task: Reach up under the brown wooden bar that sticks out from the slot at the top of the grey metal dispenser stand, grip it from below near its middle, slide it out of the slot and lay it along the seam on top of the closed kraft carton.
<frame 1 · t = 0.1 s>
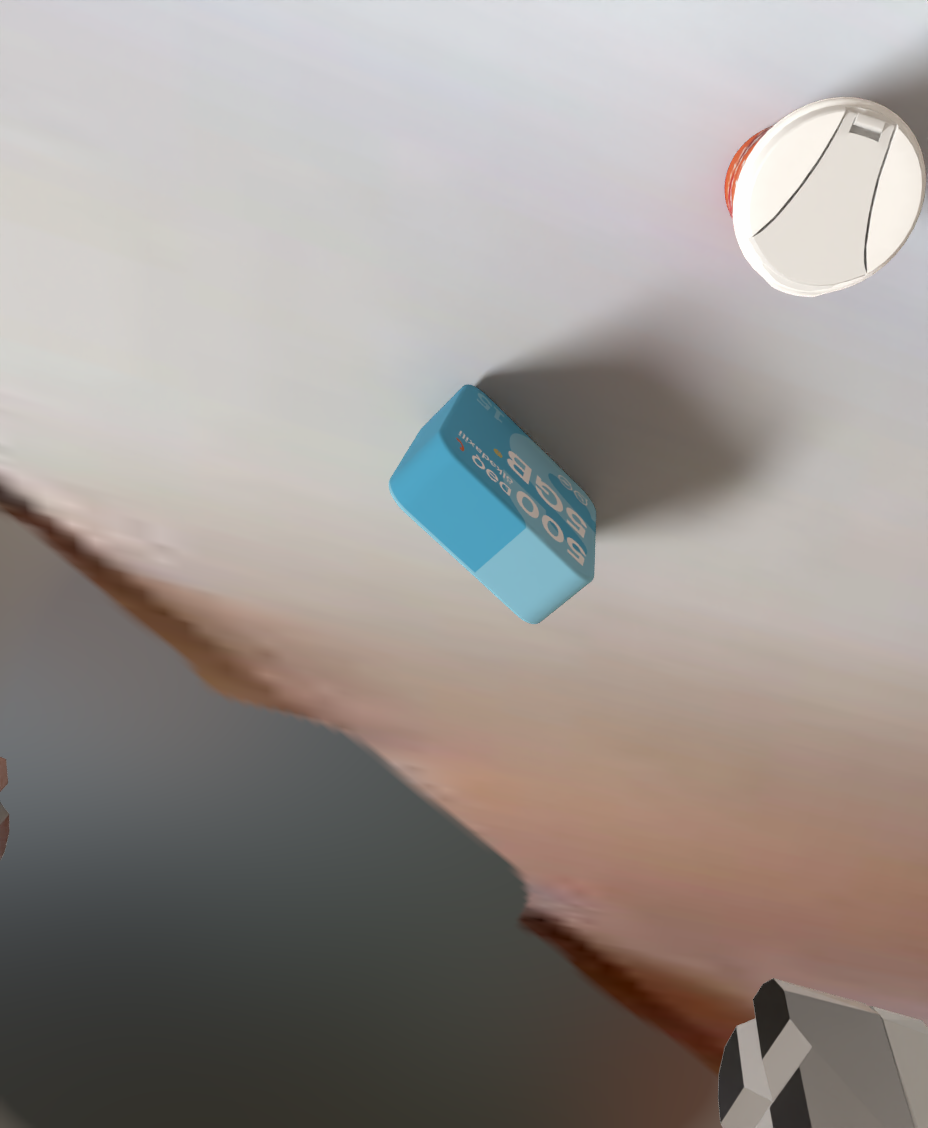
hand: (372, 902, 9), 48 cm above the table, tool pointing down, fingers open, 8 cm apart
paper cup: (775, 183, 48), on the table
data package: (511, 463, 58), on the table
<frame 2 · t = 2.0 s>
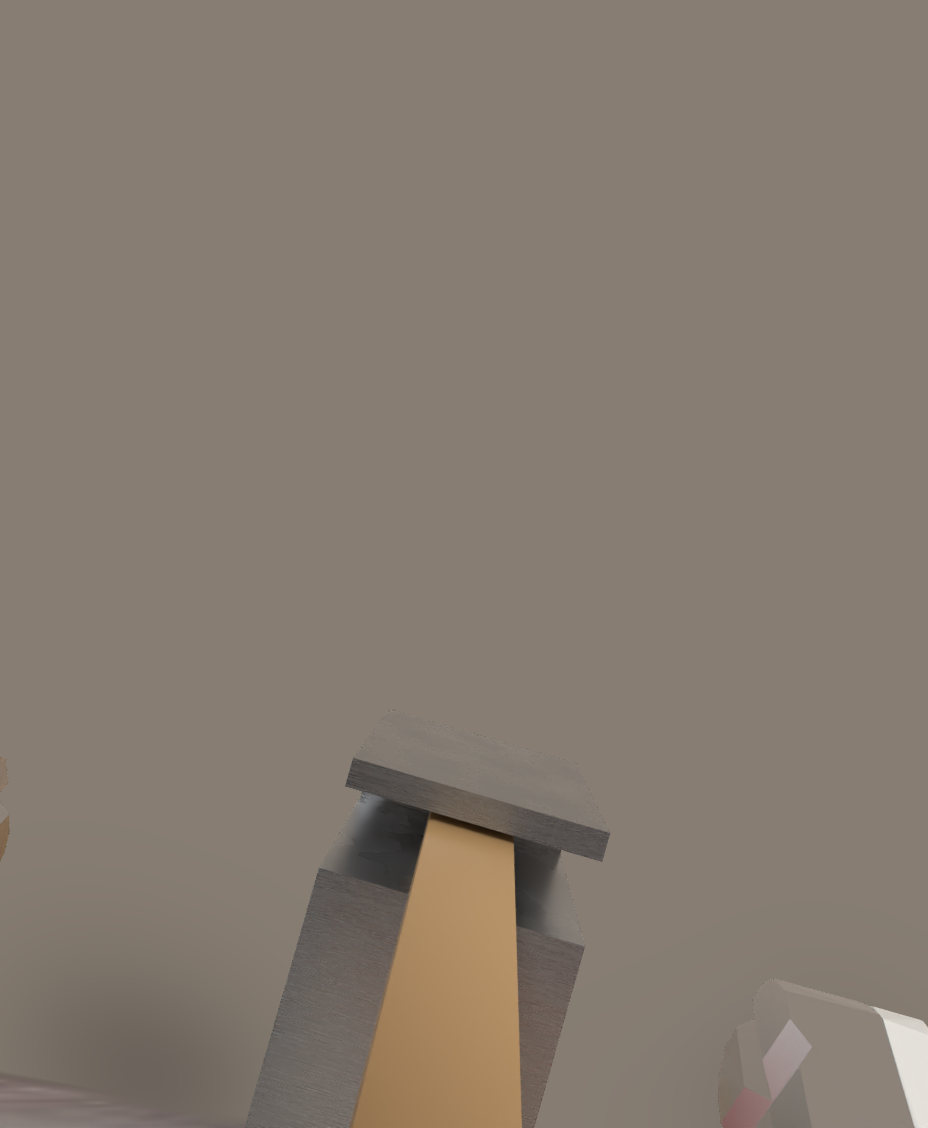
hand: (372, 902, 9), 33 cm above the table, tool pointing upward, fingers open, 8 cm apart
brown wooden bar: (444, 971, 24), point 26 cm above the table, touching dispenser stand
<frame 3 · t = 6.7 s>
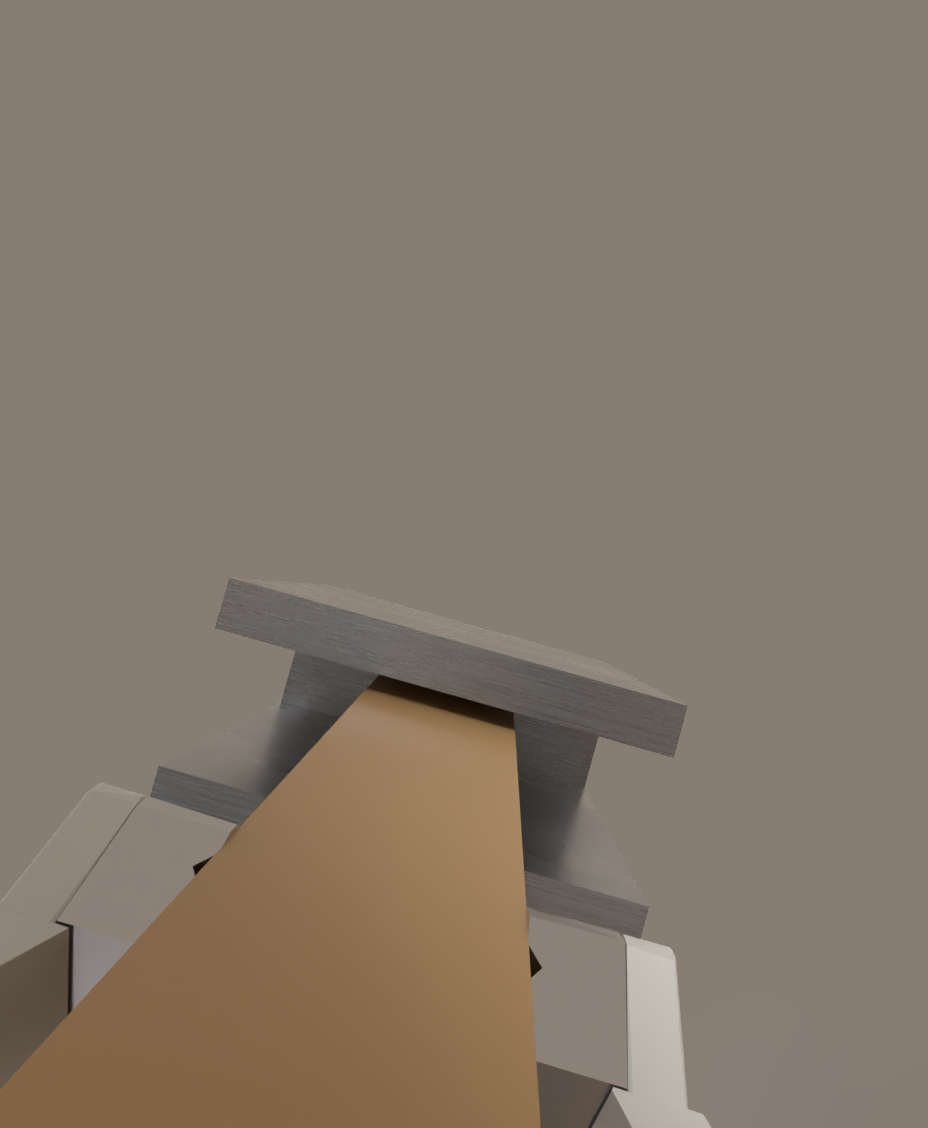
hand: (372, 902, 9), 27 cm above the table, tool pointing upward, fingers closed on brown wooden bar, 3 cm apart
brown wooden bar: (368, 940, 11), point 26 cm above the table, touching dispenser stand, gripper
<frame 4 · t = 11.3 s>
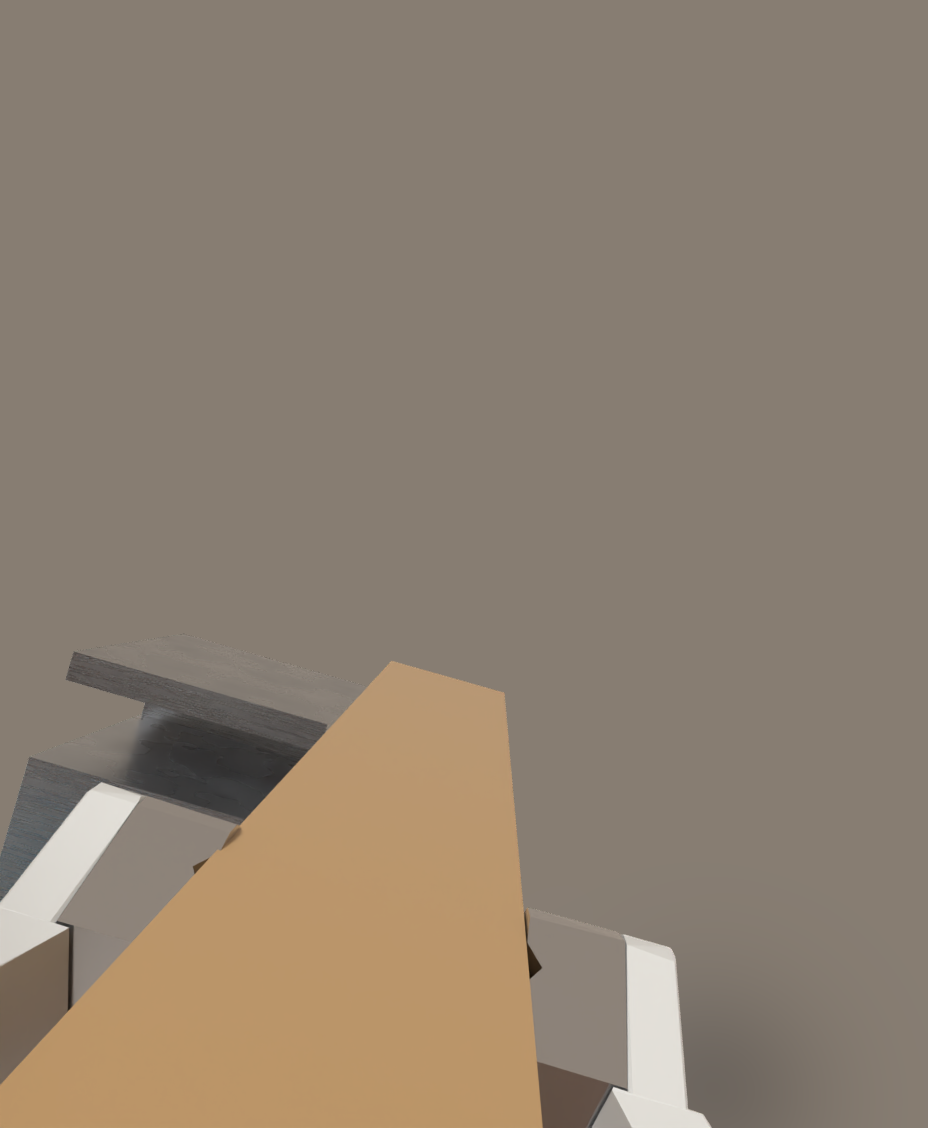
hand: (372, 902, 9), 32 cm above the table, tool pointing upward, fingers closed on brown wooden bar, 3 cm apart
brown wooden bar: (363, 945, 11), point 30 cm above the table, touching gripper
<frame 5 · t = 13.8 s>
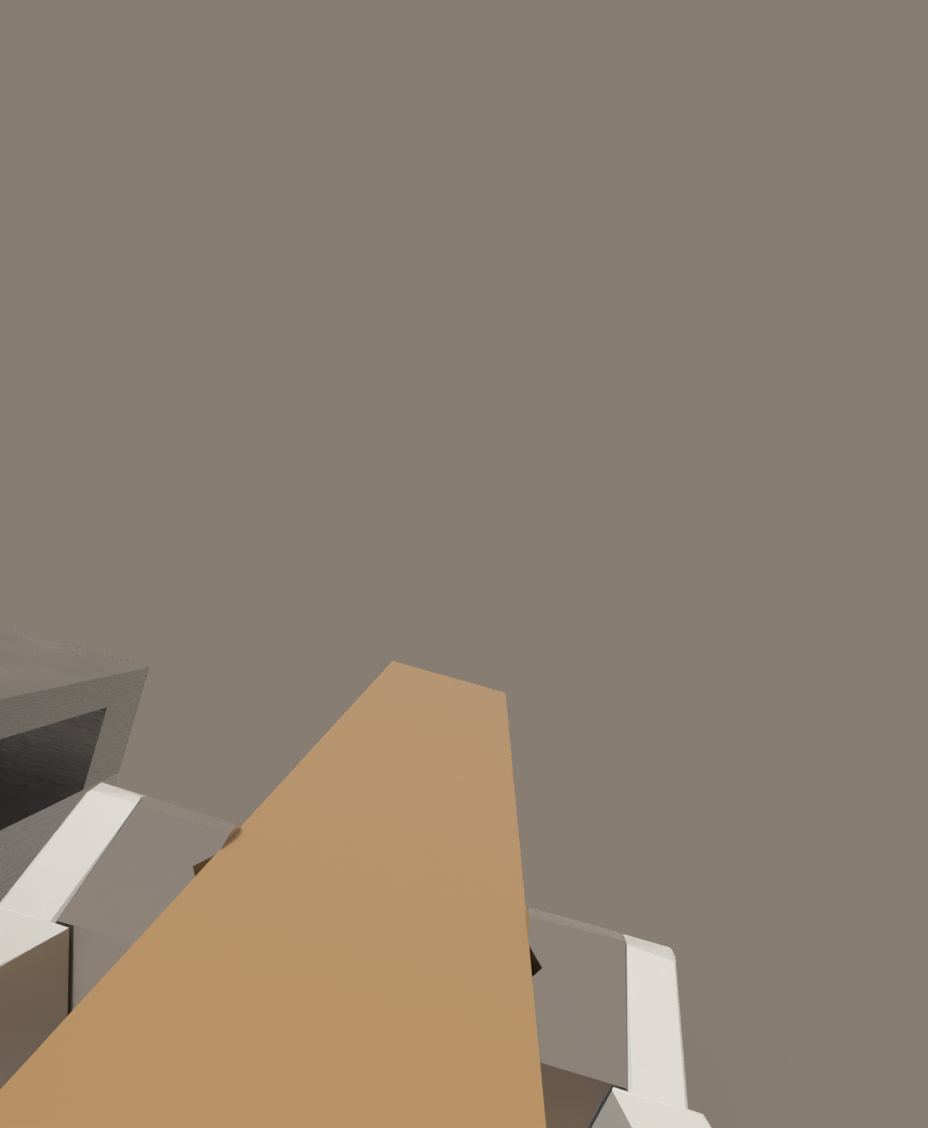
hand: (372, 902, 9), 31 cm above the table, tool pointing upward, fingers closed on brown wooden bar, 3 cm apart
brown wooden bar: (365, 945, 11), point 30 cm above the table, touching gripper
when the fingers open (20 cm above the table, at t = 16.1 s): brown wooden bar drops 2 cm, resting on carton.
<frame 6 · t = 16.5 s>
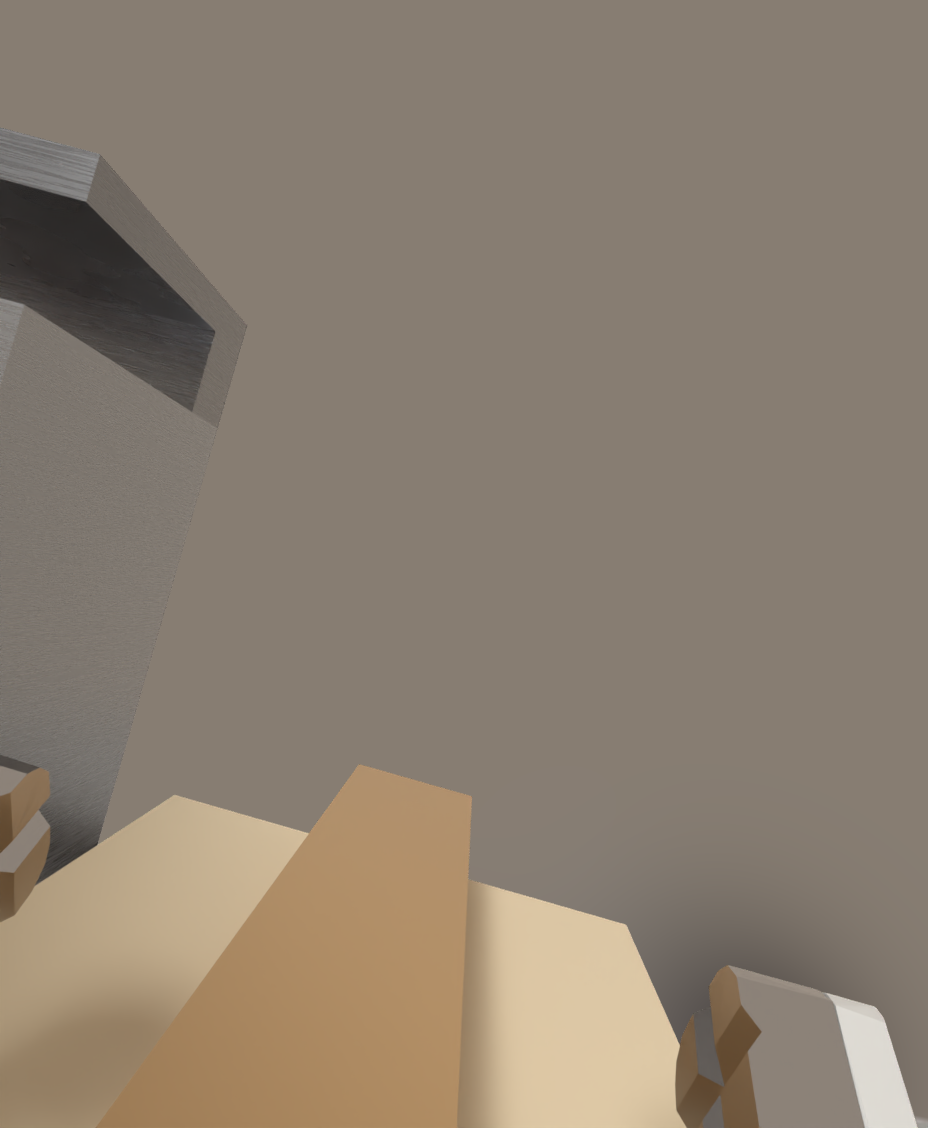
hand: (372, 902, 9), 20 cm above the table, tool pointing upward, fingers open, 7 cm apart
brown wooden bar: (309, 1110, 11), point 16 cm above the table, touching carton
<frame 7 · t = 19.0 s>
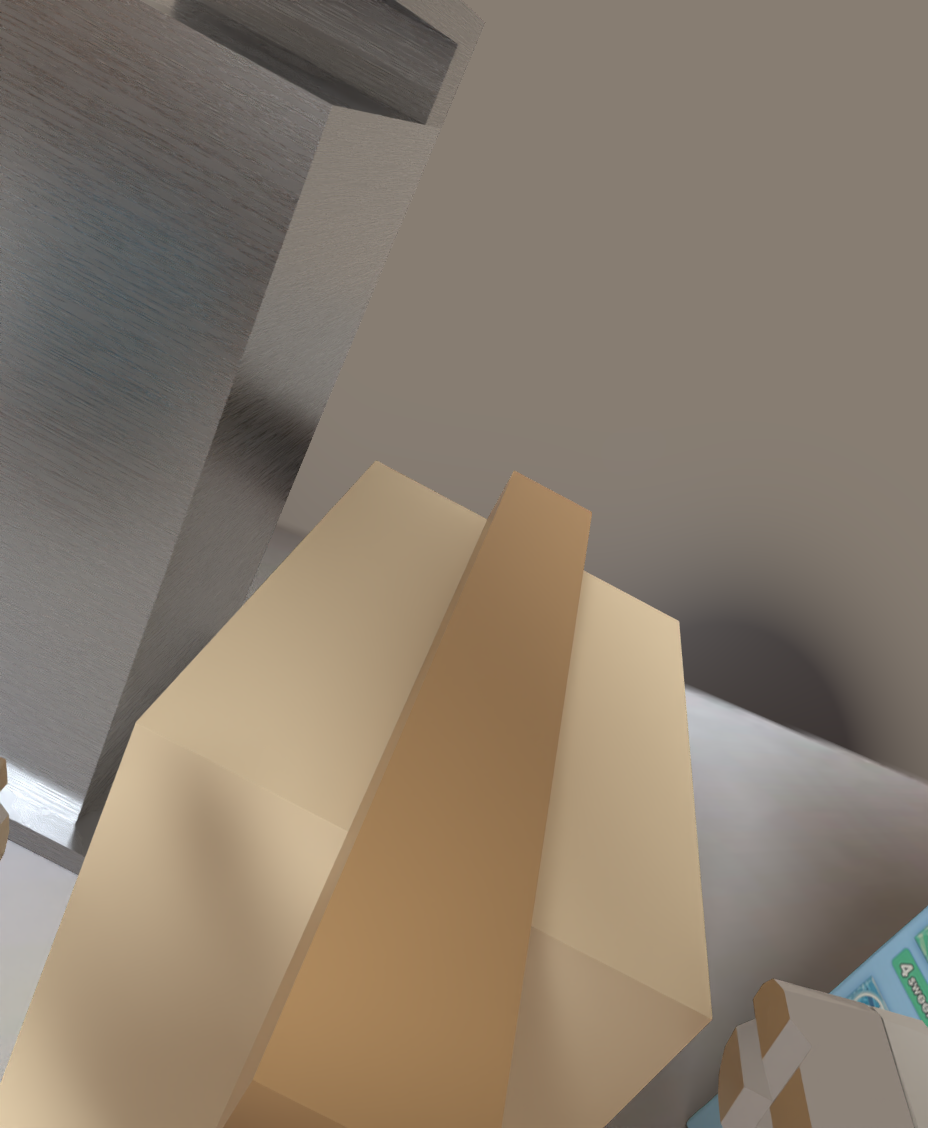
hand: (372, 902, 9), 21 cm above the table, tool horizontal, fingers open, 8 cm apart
carton: (288, 995, 30), on the table
dispenser stand: (57, 694, 37), on the table
brown wooden bar: (469, 715, 20), point 16 cm above the table, touching carton
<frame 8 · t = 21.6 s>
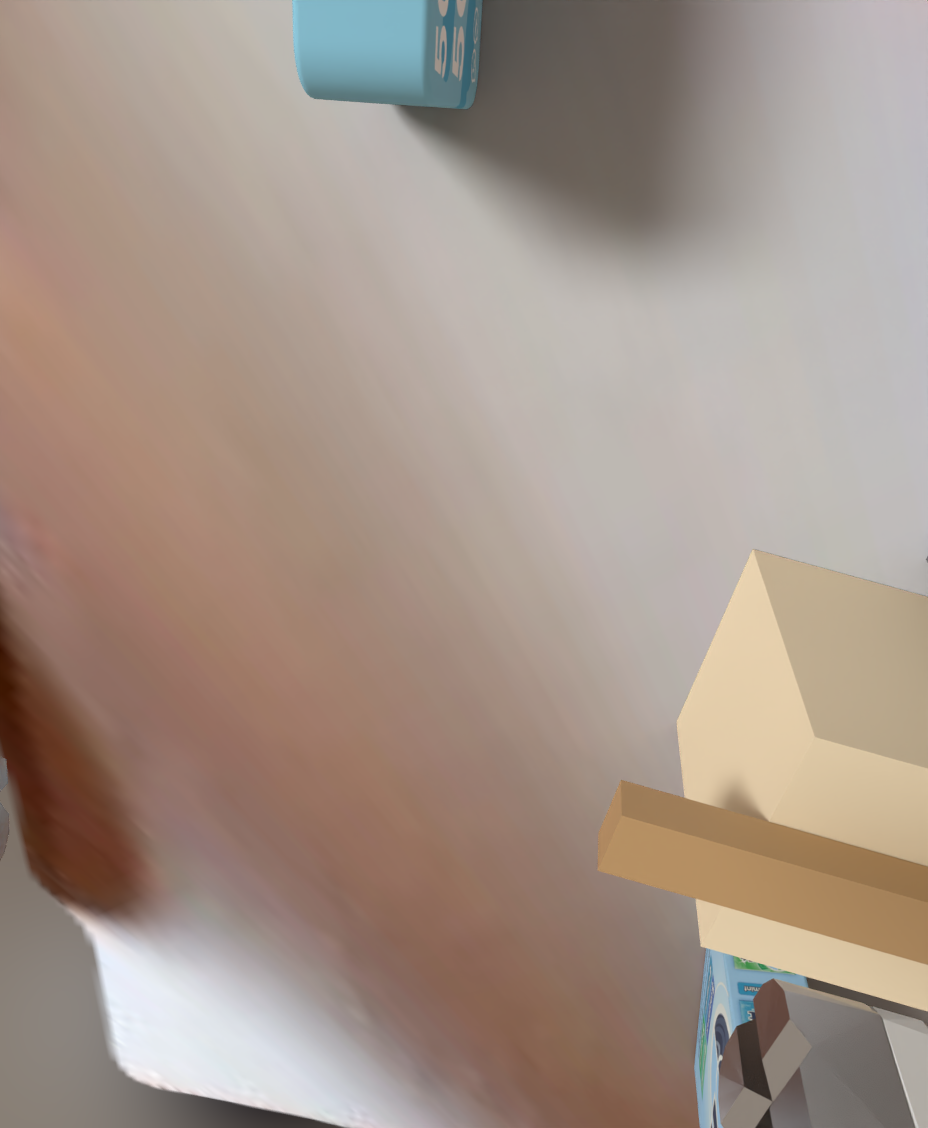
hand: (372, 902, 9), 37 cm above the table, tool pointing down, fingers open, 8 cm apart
gum box: (735, 977, 61), on the table
carton: (850, 678, 49), on the table
brown wooden bar: (876, 883, 35), point 16 cm above the table, touching carton
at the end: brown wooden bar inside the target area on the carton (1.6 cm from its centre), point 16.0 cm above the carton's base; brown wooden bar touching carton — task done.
